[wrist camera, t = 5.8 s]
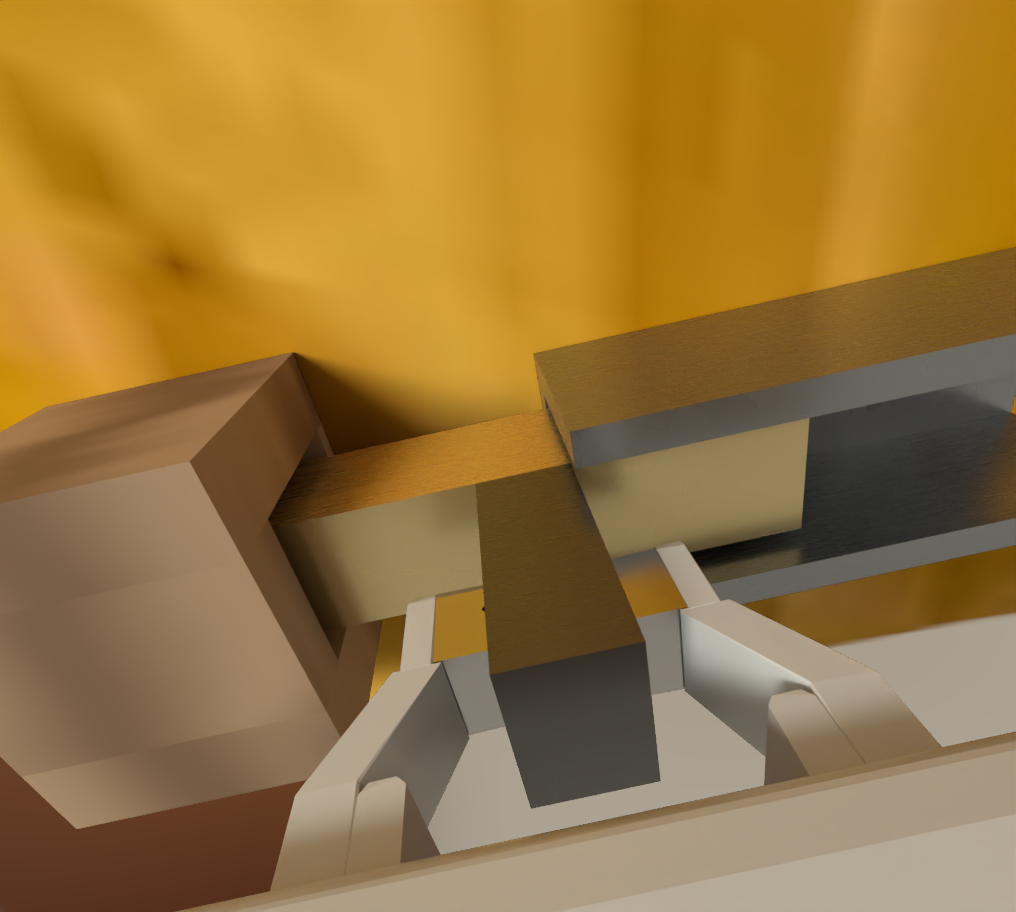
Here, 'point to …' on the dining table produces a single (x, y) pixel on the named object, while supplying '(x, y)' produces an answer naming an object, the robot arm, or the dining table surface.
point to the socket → (165, 598)
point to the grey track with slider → (827, 416)
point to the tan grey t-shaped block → (535, 565)
